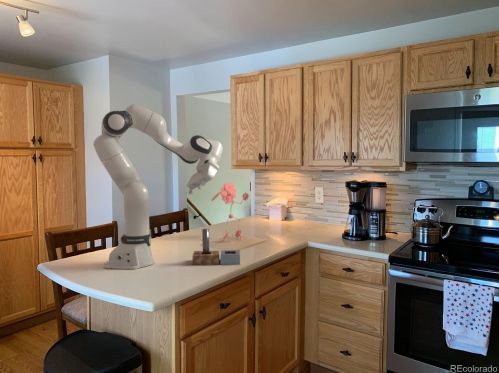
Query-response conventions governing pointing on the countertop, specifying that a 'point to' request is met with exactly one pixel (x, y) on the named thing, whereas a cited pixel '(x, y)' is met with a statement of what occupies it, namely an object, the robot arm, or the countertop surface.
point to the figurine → (230, 201)
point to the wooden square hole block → (205, 258)
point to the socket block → (230, 257)
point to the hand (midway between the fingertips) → (194, 191)
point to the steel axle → (205, 241)
